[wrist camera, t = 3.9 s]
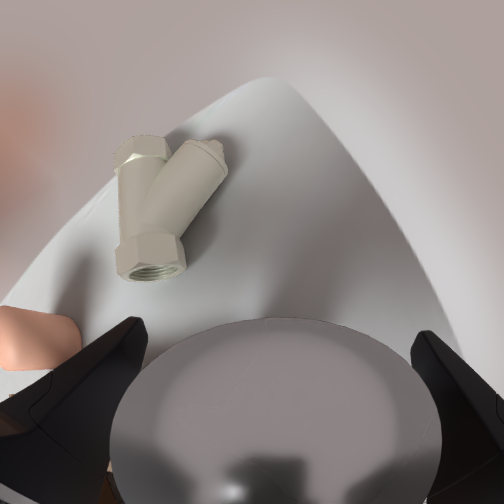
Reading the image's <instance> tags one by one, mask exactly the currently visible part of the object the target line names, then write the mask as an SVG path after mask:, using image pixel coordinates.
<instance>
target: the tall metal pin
mask: <svg viewBox="0 0 504 504" xmlns="http://www.w3.org/2000/svg"><path fill="white" fill-rule="evenodd" d="M441 447H442V434H441V423H440V419H439V415H438V411H437V407H436V405H435V402H434V400H433V398H432V396H431V393H430V391H429V389H428V388H427V386H426V385H425V383H424V382H423V380H422V379H421V377H420V376H419V374H418V373H417V372H416V371H415V370H414V369H413V368H412V367H411V366H410V365H409V364H408V363H407V362H406V361H405V359H403V358H402V357H401V356H399V355H398V354H397V353H396V352H394V351H393V350H392V349H390V348H389V347H388V346H386V345H384V344H382V343H381V342H379V341H377V340H375V339H373V338H371V337H370V336H368V335H365V334H363V333H360V332H358V331H355V330H352V329H350V328H347V327H344V326H340V325H336V324H332V323H328V322H324V321H319V320H310V319H302V318H261V319H253V320H243V321H239V322H234V323H230V324H226V325H222V326H217V327H215V328H212V329H209V330H206V331H204V332H201V333H198V334H195V335H193V336H191V337H189V338H187V339H185V340H183V341H181V342H179V343H177V344H175V345H173V346H172V347H171V348H169V349H168V350H166V351H165V352H163V353H162V354H161V355H159V356H158V357H156V358H155V359H154V360H153V361H152V362H151V363H150V364H148V365H147V366H146V367H145V368H144V369H143V370H142V371H141V372H140V373H139V374H138V376H137V377H136V378H135V379H134V381H133V382H132V383H131V384H130V386H129V387H128V389H127V390H126V392H125V394H124V396H123V397H122V399H121V401H120V403H119V405H118V408H117V411H116V413H115V416H114V419H113V423H112V428H111V434H110V461H111V468H112V472H113V476H114V479H115V483H116V486H117V488H118V490H119V493H120V495H121V497H122V499H123V501H124V503H125V504H423V502H424V500H425V499H426V497H427V495H428V493H429V492H430V489H431V487H432V485H433V482H434V480H435V477H436V474H437V470H438V466H439V462H440V458H441Z"/></svg>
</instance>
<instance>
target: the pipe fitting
mask: <svg viewBox="0 0 504 504" xmlns="http://www.w3.org/2000/svg"><path fill="white" fill-rule="evenodd" d="M223 149H224V148H223V145H222V144H221V143H220V142H219V141H217V140H211V141H208V140H202V141H200V142H199V141H197V140H186V141H185V142H184V143H183V144H182V145H181V147H180V148H179V149H178V150H177V151H176V152H175V153H174V154H173V156H172V154H171V151H170V148H169V146H168V144H167V141H166V140H165V138H162V137H158V136H151V135H140V136H133V137H131V138H130V139H128V140H127V141H126V142H124V143H123V144H122V145H121V146H120V147H119V148H118V149H117V151H116V152H115V153H114V171H115V173H116V175H117V176H118V204H119V231H120V245H119V246H118V247H117V248H116V249H115V253H116V266H117V274H118V275H119V276H120V277H121V278H123V279H124V280H126V281H130V282H154V281H160V280H165V279H169V278H172V277H175V276H177V275H179V274H181V273H182V272H184V271H185V270H186V269H187V265H186V259H185V253H184V247H183V245H182V243H181V241H180V240H179V239H180V237H181V236H182V235H183V233H184V232H185V230H186V229H187V228H188V226H189V225H190V223H191V222H192V221H193V219H194V218H195V217H196V215H197V214H198V213H199V211H200V210H201V209H202V207H203V206H204V205H205V203H206V202H207V201H208V199H209V198H210V197H211V195H212V194H213V193H214V191H215V190H216V189H217V188H218V186H219V185H220V184H221V182H222V181H223V180H224V179H225V177H226V176H227V174H228V168H227V165H226V164H225V162H224V160H225V156H224V153H223Z"/></svg>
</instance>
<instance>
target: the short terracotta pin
mask: <svg viewBox="0 0 504 504" xmlns="http://www.w3.org/2000/svg"><path fill="white" fill-rule="evenodd" d="M80 350H82V338H81V334H80V331H79V329H78V327H77V325H76V324H75V322H74V321H73V320H72V319H71V318H69V317H67V316H62V315H55V314H49V313H43V312H37V311H31V310H26V309H20V308H15V307H10V306H1V307H0V366H1V367H2V368H3V369H4V370H6V371H24V370H43V369H55V368H56V367H58V366H59V365H61V364H62V363H63V362H65V361H66V360H68V359H69V358H70V357H72V356H73V355H75V354H76V353H78V352H79V351H80Z"/></svg>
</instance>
